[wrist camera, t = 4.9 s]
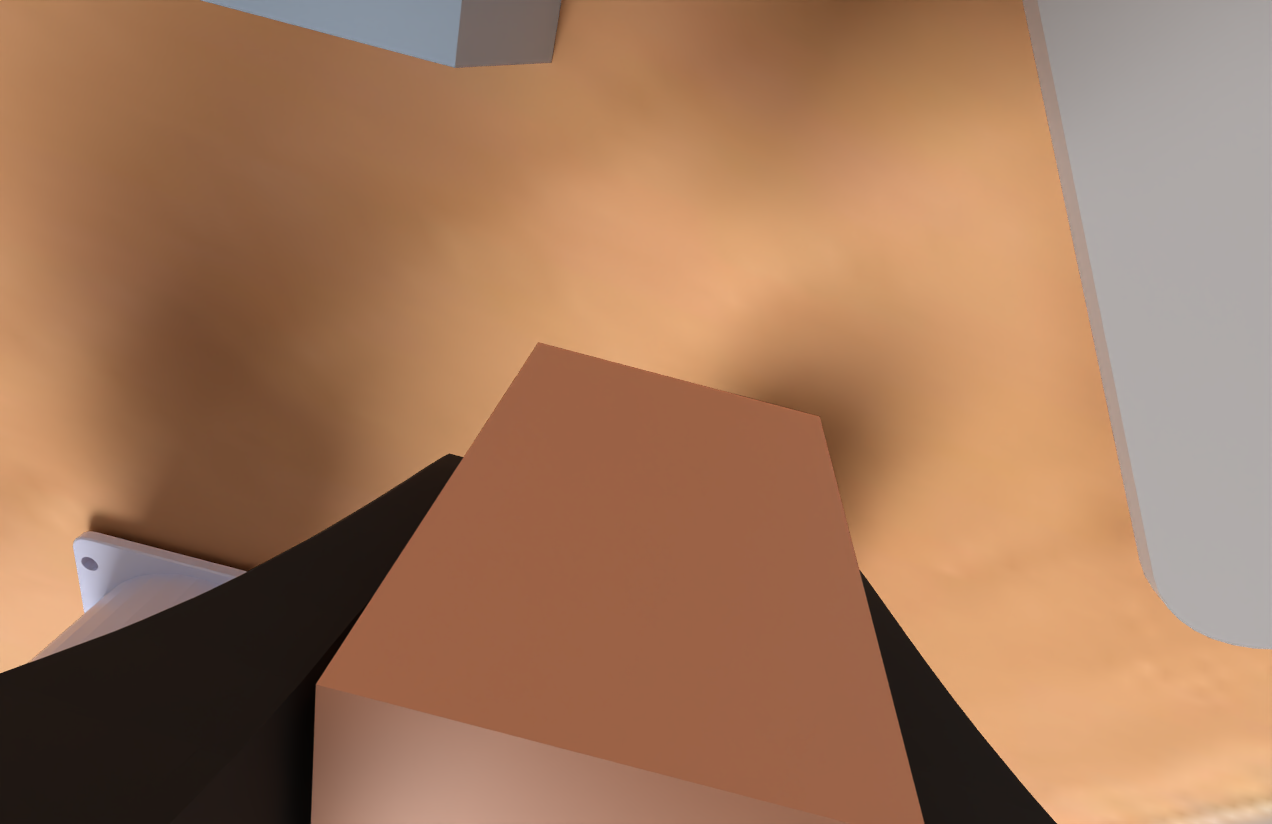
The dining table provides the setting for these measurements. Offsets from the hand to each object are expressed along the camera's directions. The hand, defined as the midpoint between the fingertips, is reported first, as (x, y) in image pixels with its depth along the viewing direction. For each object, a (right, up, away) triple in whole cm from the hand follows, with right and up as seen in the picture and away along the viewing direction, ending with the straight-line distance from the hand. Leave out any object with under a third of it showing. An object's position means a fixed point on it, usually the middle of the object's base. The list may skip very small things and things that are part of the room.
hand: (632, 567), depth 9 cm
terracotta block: (0, +1, +1) cm, 2 cm away
